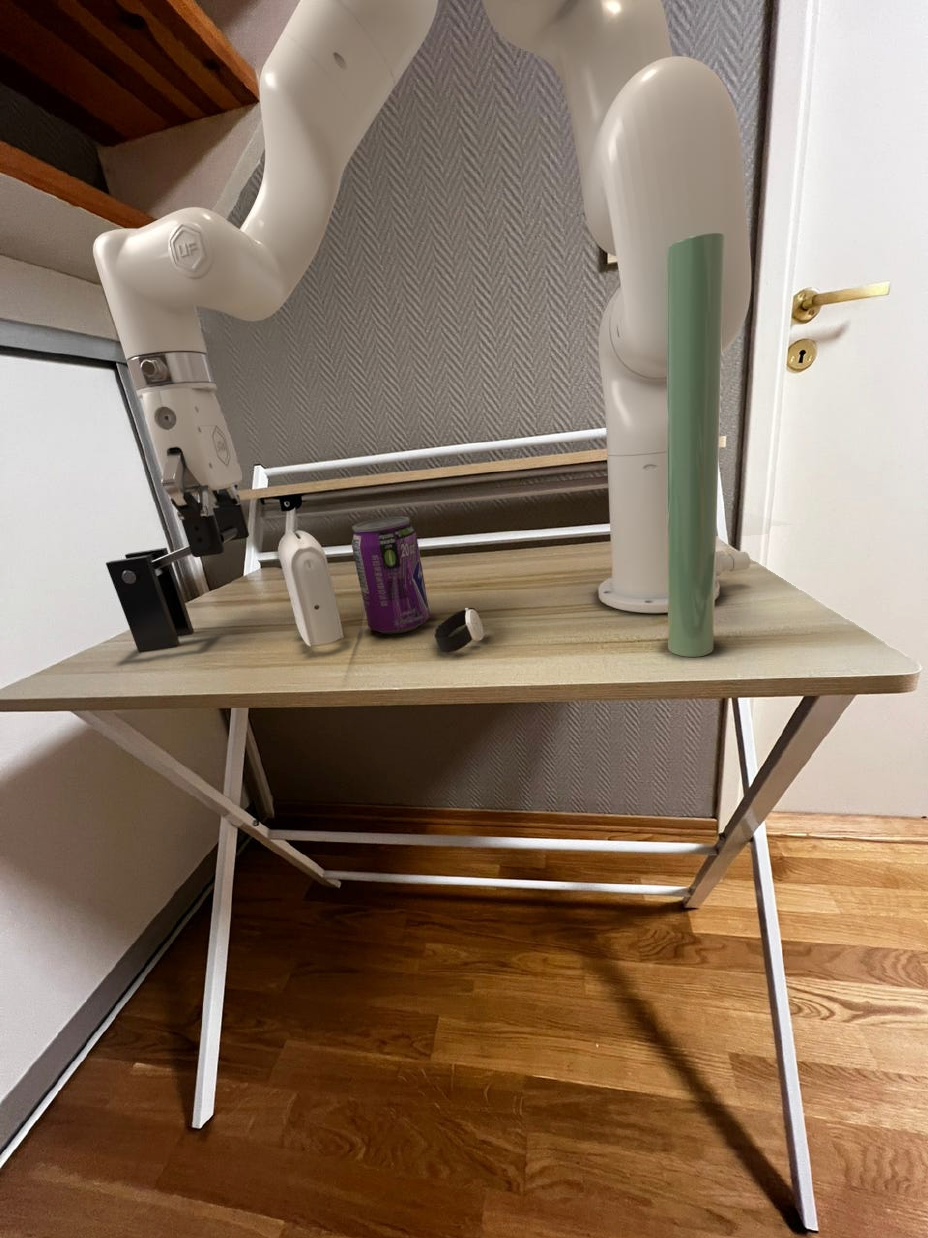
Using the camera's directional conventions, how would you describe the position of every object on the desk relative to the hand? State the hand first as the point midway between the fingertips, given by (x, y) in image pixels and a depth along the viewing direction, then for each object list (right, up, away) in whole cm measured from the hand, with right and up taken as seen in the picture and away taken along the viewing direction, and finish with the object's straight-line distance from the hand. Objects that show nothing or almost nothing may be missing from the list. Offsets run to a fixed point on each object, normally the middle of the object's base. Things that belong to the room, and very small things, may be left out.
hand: (223, 545), depth 61 cm
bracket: (-8, -12, +4) cm, 15 cm away
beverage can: (+20, -9, +1) cm, 22 cm away
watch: (+27, -11, -6) cm, 30 cm away
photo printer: (+11, -11, 0) cm, 15 cm away
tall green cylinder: (+47, -11, -14) cm, 50 cm away
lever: (-4, -2, 0) cm, 5 cm away
